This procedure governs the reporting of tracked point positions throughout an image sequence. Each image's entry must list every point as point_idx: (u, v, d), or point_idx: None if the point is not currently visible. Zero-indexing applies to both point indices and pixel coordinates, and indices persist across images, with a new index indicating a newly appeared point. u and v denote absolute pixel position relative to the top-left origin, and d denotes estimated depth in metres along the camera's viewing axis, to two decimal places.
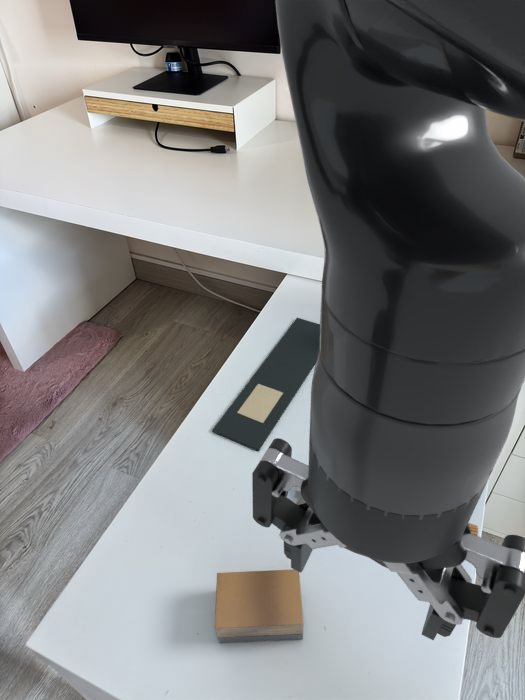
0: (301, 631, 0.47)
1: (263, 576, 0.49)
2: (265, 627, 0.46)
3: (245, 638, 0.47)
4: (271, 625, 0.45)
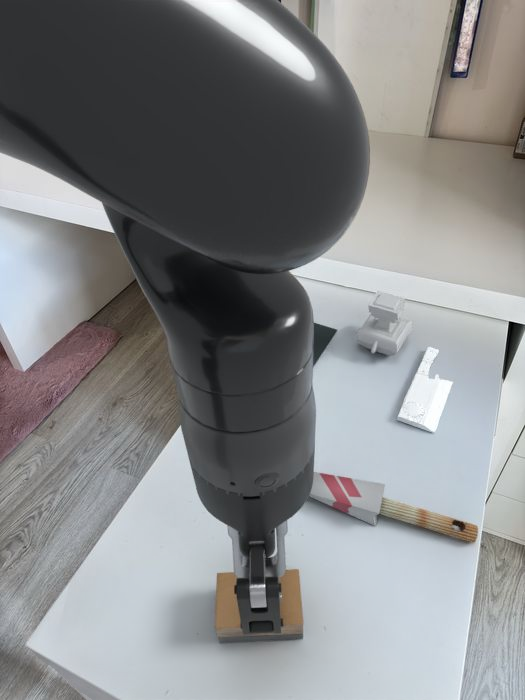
0: (301, 631, 0.47)
1: None
2: None
3: (245, 638, 0.47)
4: None
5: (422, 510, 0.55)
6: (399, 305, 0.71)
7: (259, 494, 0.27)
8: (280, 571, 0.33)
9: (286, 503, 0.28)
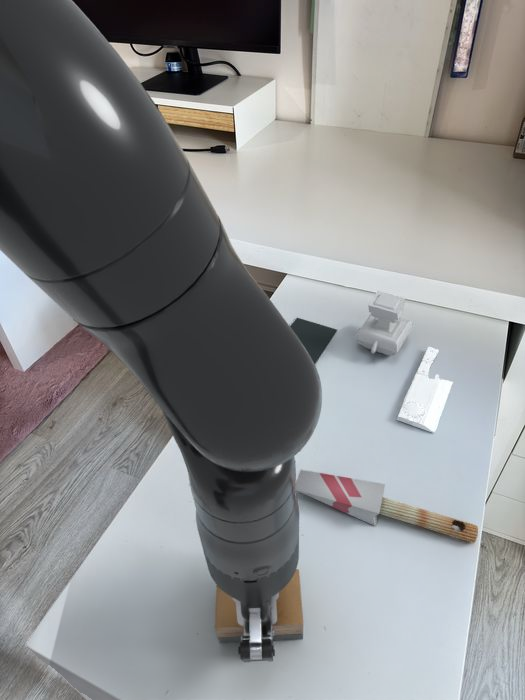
0: (301, 631, 0.47)
1: None
2: None
3: None
4: None
5: (422, 510, 0.55)
6: (399, 305, 0.71)
7: (256, 579, 0.36)
8: (273, 620, 0.43)
9: (277, 582, 0.37)
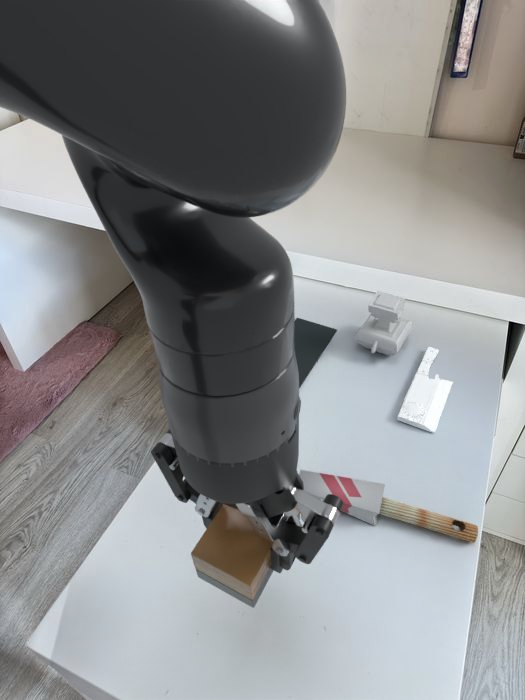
0: None
1: None
2: None
3: (269, 572, 0.38)
4: None
5: (422, 510, 0.55)
6: (399, 305, 0.71)
7: (294, 428, 0.28)
8: None
9: None
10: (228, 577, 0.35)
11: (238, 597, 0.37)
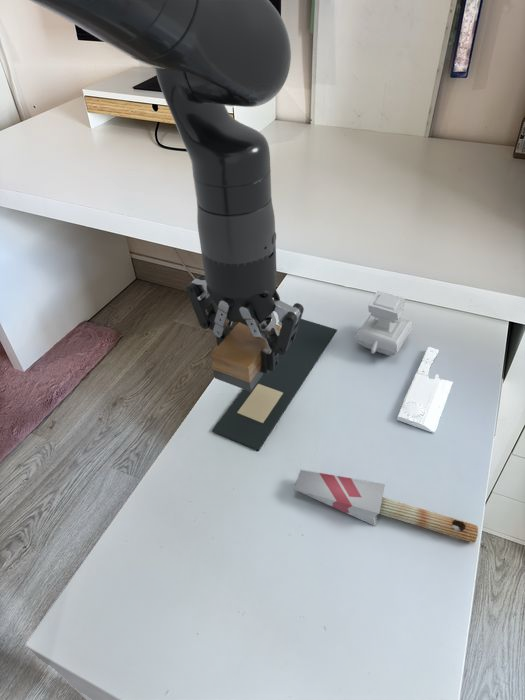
0: None
1: (235, 332, 0.60)
2: None
3: (260, 372, 0.60)
4: None
5: (422, 510, 0.55)
6: (399, 305, 0.71)
7: (272, 251, 0.49)
8: (274, 321, 0.57)
9: None
10: (234, 366, 0.57)
11: (241, 385, 0.59)
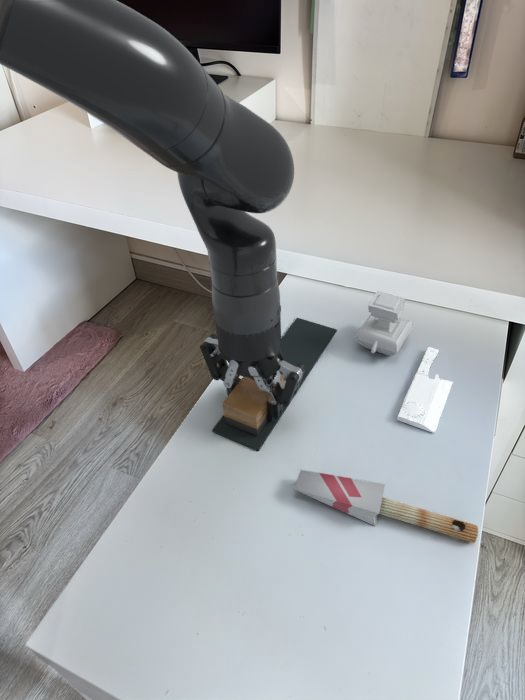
0: (284, 385, 0.69)
1: (243, 381, 0.67)
2: None
3: (266, 418, 0.66)
4: None
5: (422, 510, 0.55)
6: (399, 305, 0.71)
7: (278, 321, 0.56)
8: (279, 375, 0.64)
9: None
10: (243, 414, 0.64)
11: (249, 430, 0.65)
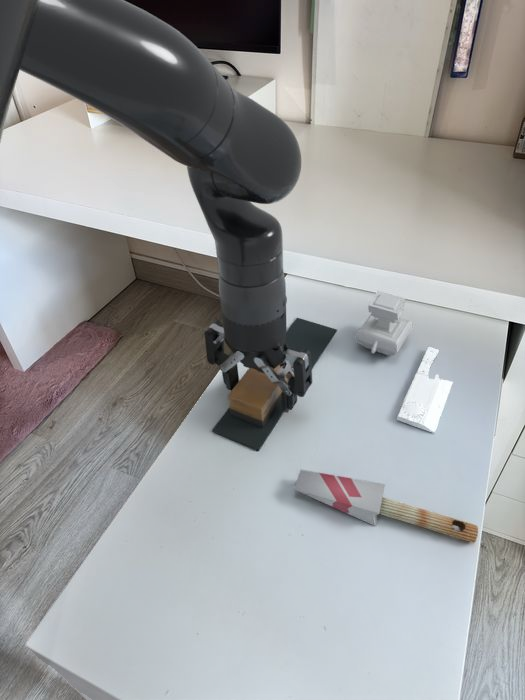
0: None
1: (248, 374, 0.68)
2: (277, 386, 0.67)
3: (271, 410, 0.67)
4: None
5: (422, 510, 0.55)
6: (399, 305, 0.71)
7: (283, 312, 0.57)
8: (289, 365, 0.64)
9: None
10: (249, 406, 0.65)
11: (254, 422, 0.66)
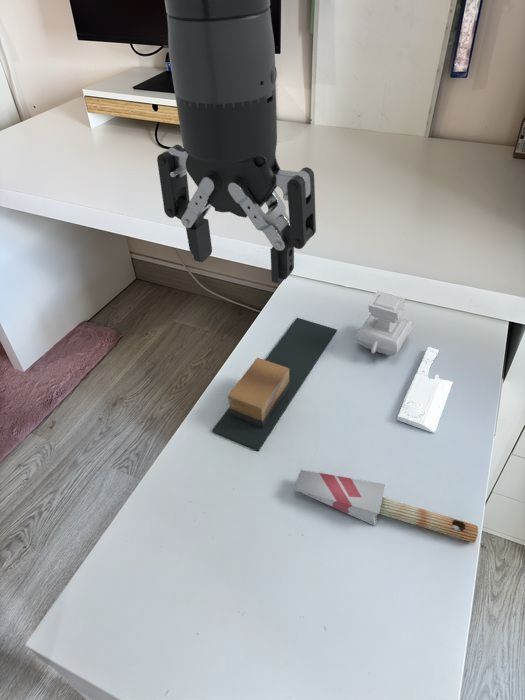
0: None
1: (248, 374, 0.68)
2: (277, 386, 0.67)
3: (271, 410, 0.67)
4: (279, 382, 0.67)
5: (422, 510, 0.55)
6: (399, 305, 0.71)
7: (272, 94, 0.36)
8: (282, 207, 0.43)
9: None
10: (249, 406, 0.65)
11: (254, 422, 0.66)
